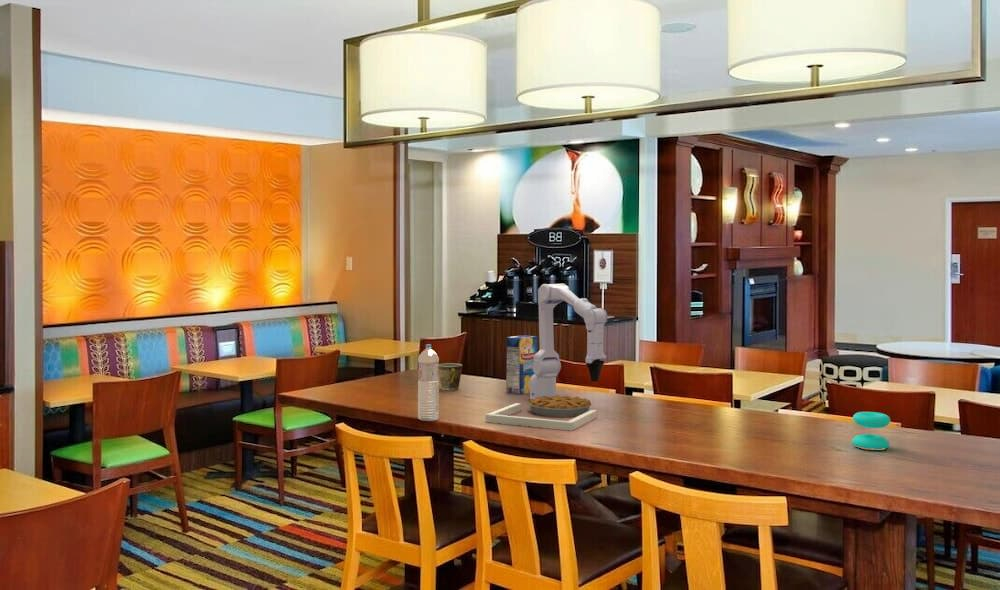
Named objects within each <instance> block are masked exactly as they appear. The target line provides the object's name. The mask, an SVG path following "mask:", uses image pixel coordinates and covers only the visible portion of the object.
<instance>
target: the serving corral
mask: <svg viewBox="0 0 1000 590" xmlns="http://www.w3.org/2000/svg"><path fill="white" fill-rule="evenodd" d="M521 411H522V403H520V402H519V403H518V402H515V403H513V404H511V405H507V406H505V407H502V408H499V409H496V410H494V411H492V412H489V413H485V423H488V422H492V423H491V424H498V423H501V424H500V425H508V424H510V425H511V426H518V425H521V426H520V427H528V426H531V428H538V427H542V428H541V429H548V428H549V429H550V430H560V431H568V430H569V431H571V432H572V431H574V430H576V429H578V428H579V427H581V426H584V425H585V424H587V423H589V422H592V421H593V420H594V419H597V417H598V410H597V409H590V410H588V412H586V413H584V414H582V415H580V416H575V417H573V418H572V419H569V420H568V421H567V420H560V419H559V420H558V419H549V418H548V419H547V418H537V417H526V416H517V415H514V414H517V413H519V412H521ZM508 415H509V416H508ZM510 425H509V426H510Z"/></svg>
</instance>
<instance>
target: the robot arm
mask: <svg viewBox="0 0 1000 590" xmlns="http://www.w3.org/2000/svg"><path fill="white" fill-rule="evenodd" d="M537 292H538V293H537V295H538V296H537V297H538V298H537V301H538V303H537V305H538V327H539V328H538V330H539V332H538V333H539V336H538V338H539V339H538V340H539V351H538V350H537V353H536V354H535V355H534V361H533V365H532V368H533V372H534V373H535V375H533V376H532V377H531V380H530V393H529V400H531V399H535V398H536V397H543V396H548V397H552V396H557V376H558V375H559V373H560V371H561V370H562V369H561V368H562V363H561V361H560V355H559V353H558V352H557V351H556V350H555V344H554V343H555V341H554V339H555V337H554V336H555V335H554V309H555V307H556V306H557V305H558V304H560V303H562V302H566V303H567V304H569V305H570V306H572V307H573V311H574V312H575V313H577V314H578V315H579V316H580V317H581V318H582V319H583V322H584V323H585V329H586V331H587V332H586V333H587V335H586V336H587V337H586V340H587V341H586V343H587V344H586V357H585V365H586V367H587V369H588V372H589V376H590V381H591V382H599V379H600V376H601V371H602V368H603V366H604V365H605V360H604V359H606V358H607V355H605V353H604V338H605V337H604V334H605V333H604V332H605V331H604V329H605V328H604V327H605V326H604V325H605V324H606V323H607V321H608V313H607V311H606V309H604V308H603V307H600V308H598V307H596V305H595V304H592V303H591V302H590V301H589V300H588V298H586V297H585V298H583V297H582V298H579V297H578V296H577V295H576V294H575V293H574V292H572V291H571V290H570V287H569V286H568V285H566V283H549V284H547V283H543V284H541V285H540V287H539V288H538V289H537Z"/></svg>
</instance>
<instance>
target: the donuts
mask: <svg viewBox="0 0 1000 590" xmlns="http://www.w3.org/2000/svg"><path fill="white" fill-rule="evenodd" d="M852 420H853V422H854V423H855V424H856V425H858V426H860V427H863V428H868V429H881V428H885V427H887V426H889V425H890V423H891V417H890V416H889V415H887V414H885V413H882V412H877V411H876V412H875V411H858V412H856V413H854V414H853V416H852ZM851 442H852V443H851V444H852V445H853V446H854V445H856V446H859V447H864V448H874V449H882V448H888V447H889V448H890V441H889V440H888V439H887V438H886V437H884V436H883V435H882V436H881V435H878V434H874V433H872V434H871V433H862V434H858V435H855V436H854V437H853V438H852V441H851ZM889 448H888V449H889Z"/></svg>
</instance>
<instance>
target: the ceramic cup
mask: <svg viewBox="0 0 1000 590" xmlns="http://www.w3.org/2000/svg"><path fill="white" fill-rule="evenodd" d="M462 372H463V364H461V363H456V362H455V363H453V362H452V363H451V362H450V363H448V362H446V363H438V378H439V382H440V388H441V390H442V391H444V390H448V391H447V392H451V391H452V390H455V391H458V390H459V389H460V388H459V387H460V382H461V376H462Z"/></svg>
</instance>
